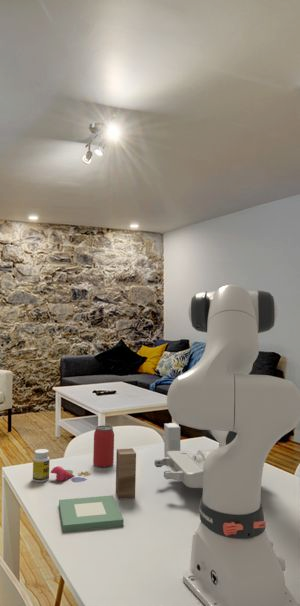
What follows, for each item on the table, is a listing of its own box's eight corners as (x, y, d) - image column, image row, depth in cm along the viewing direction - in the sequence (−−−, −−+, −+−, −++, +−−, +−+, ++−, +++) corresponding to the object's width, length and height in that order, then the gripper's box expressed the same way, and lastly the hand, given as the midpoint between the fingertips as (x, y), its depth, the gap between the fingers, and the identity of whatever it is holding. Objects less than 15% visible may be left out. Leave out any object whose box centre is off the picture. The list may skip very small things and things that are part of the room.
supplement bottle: (44, 483, 132) (45, 454, 132) (29, 481, 133) (30, 452, 133) (51, 477, 137) (52, 449, 137) (37, 475, 138) (37, 447, 138)
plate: (123, 525, 108) (123, 519, 108) (63, 532, 104) (63, 525, 104) (112, 501, 121) (112, 495, 121) (58, 505, 118) (59, 499, 118)
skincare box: (180, 463, 151) (181, 427, 151) (167, 464, 150) (168, 427, 150) (175, 457, 157) (176, 422, 157) (163, 458, 156) (163, 422, 156)
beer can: (91, 462, 151) (92, 425, 151) (111, 460, 153) (111, 424, 153) (95, 468, 145) (96, 430, 145) (115, 467, 147) (116, 429, 147)
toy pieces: (76, 488, 130) (76, 472, 130) (44, 480, 135) (45, 465, 135) (99, 474, 141) (99, 460, 141) (69, 468, 146) (69, 454, 146)
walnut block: (135, 497, 124) (136, 453, 124) (118, 499, 123) (119, 454, 123) (131, 491, 128) (132, 448, 128) (115, 492, 127) (116, 449, 127)
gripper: (193, 444, 141) (150, 446, 138) (220, 466, 122) (170, 470, 118) (193, 464, 141) (149, 467, 138) (220, 490, 122) (170, 495, 118)
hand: (159, 469), depth 128 cm, fingers open, 8 cm apart
